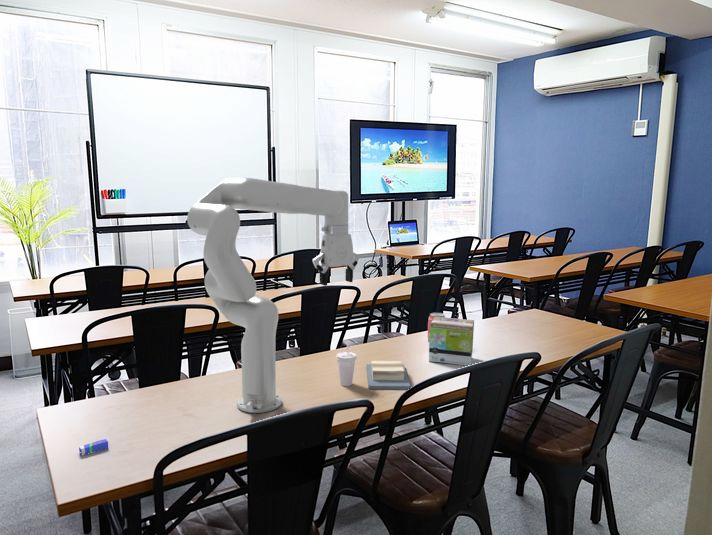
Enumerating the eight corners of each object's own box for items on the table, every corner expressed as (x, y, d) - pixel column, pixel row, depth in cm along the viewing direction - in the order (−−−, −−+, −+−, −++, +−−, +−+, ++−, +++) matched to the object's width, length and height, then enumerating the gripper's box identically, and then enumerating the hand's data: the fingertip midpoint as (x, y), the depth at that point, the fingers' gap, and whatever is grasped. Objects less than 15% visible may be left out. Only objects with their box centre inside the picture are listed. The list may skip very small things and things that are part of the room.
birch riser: (403, 380, 173) (404, 371, 173) (372, 380, 173) (372, 371, 172) (400, 369, 183) (401, 360, 182) (371, 369, 183) (371, 360, 182)
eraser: (79, 453, 127) (78, 445, 127) (106, 446, 131) (105, 438, 131) (81, 457, 126) (80, 449, 125) (108, 449, 129) (108, 441, 129)
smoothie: (360, 384, 172) (360, 341, 170) (346, 389, 167) (346, 346, 165) (345, 378, 176) (346, 337, 174) (331, 384, 172) (332, 341, 170)
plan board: (410, 389, 168) (410, 386, 168) (368, 388, 168) (368, 385, 168) (403, 367, 188) (403, 364, 188) (366, 367, 188) (366, 364, 188)
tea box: (428, 362, 194) (429, 322, 191) (431, 354, 203) (433, 315, 201) (470, 366, 190) (472, 325, 187) (472, 357, 199) (474, 318, 197)
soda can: (447, 342, 217) (449, 313, 215) (440, 347, 211) (441, 317, 209) (431, 339, 221) (432, 311, 219) (424, 344, 215) (425, 314, 213)
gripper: (319, 232, 162) (319, 288, 165) (365, 229, 172) (365, 282, 175) (306, 230, 169) (307, 284, 171) (352, 227, 178) (352, 278, 181)
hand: (336, 283), depth 173 cm, fingers open, 9 cm apart
